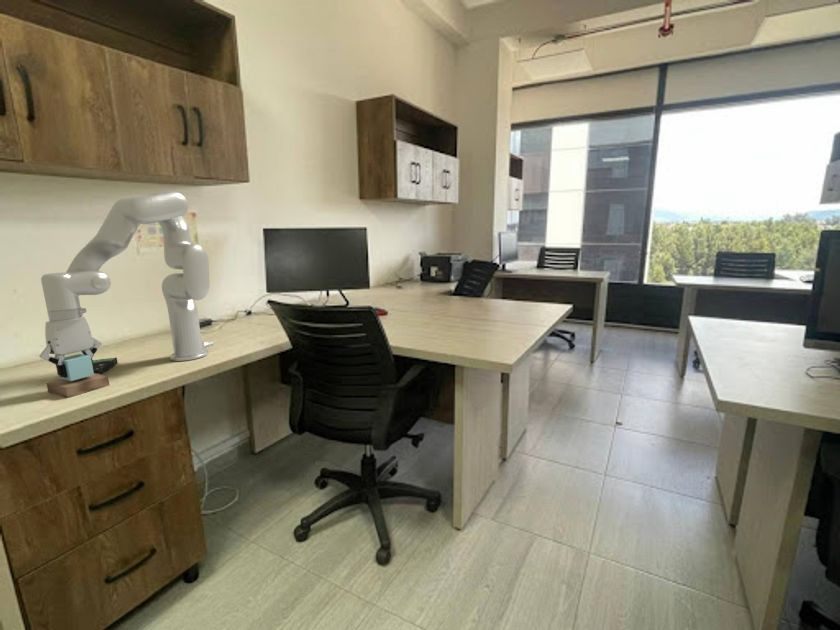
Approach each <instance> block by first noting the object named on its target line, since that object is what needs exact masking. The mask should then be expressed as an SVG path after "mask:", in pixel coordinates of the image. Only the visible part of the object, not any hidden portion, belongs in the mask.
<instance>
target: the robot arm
mask: <svg viewBox="0 0 840 630" xmlns="http://www.w3.org/2000/svg"><path fill="white" fill-rule="evenodd" d="M188 210H189V201H188V199H187V198H186V196H185V195H184V194H182V193H181V192H178V191H174V190H173V191H160V192H159V191H158V192H153V193H149V194H146V195H145V196H143V195H142V196H136V197H135V196H133V197H124V198H120V199H118V200H117V201H115V203H114V204H113V205H112V207H111V209H110V210H109V212H108V214H107V216H106V217H105V219H104V221H103V222H102V224H101V226H100V227H99V229H98V231H97V232H96V234H95V236H94V237H93V238H91V239H90V241H89V242H88V243H87V244H86V245H84V247H82V249H80V250H79V252H78V253H77V254H76V255H75V256H74V258H73V260H72V261H71V263H70V264H69V266H68V268H67V269H66V272H52V273H46V274H43V275H41V277H40V280H41V281H40V283H41V287H42V292H43V297H44V300H45V301H44V302H45V307H46V311H47V317H48V321H46V322H45V327H44V328H45V329H44V331H45V332H44V333H45V334H44V335H45V345H46V346H45V348H44V349H43V350H42V352H41V353H40V354H39V358H41V359H43V360H45V361H48V362H50V363H52V364H54V365H55V366H56V367H55V368H56V371H57V375H58V376H59V378H60V377H64V378H66V377H67V372H66V367H65V364H63V361H64V357H66V355H70V354H75V353H78V352H81V354H83V355H88V356H91V361H92V366H93V360H94V359H93V358H94V356H95V353H96V352H97V351H98V349H99V348H100V347H101V346H102V344H103V343H102V342H101V341H100V340H97V339H95V338H94V337H93V335H92V332H91V331H92V330H91V328H90V325H89V323H88V321H87V318H86V317H84V313H87V308H85V307H84V308H82V307H81V302H80V298H79V296H96V295H101V294H104V293H105V292H107V291H108V290H109V289H110V288H111V285H112V284H111V283H112V282H111V278H110V277H109V276H108V275H107V274H106V273H104V272H102V271H100V269H101V268H102V267H103V266H104V264H105V263H107V262H108V261H110V260H111V259H112V258H114V257H117V256H118V255H120V254H121V253H123V252H124V251H126V250H127V249H128V247H129V245H130V243H131V242H132V239H133V238H134V235H135V234H136V231H138V230H137V229H139V226H140V225H148V224H154V223H159V226H160V227H161V229H162V236H163V255H164V262H165V264H166V266H168V267H169V268H170V269H174V270H178V271H179V270H181V271H182V272H183V273H180V272H178V273H177V272H175V273H171V274H168V275H167V276H166V277H164V279H163V280H162V283H161V291H162V294H163V297H164V300H165V303H166V308H167V313H168V318H169V319H168V320H169V327H170V334H171V341H172V346H173V347H172V348H173V353H171V354H170V355H169V359H170V360H171V361H174V362H184V361H193V360H197V359H200V358H204V357H205V356H208V350H207V348H209V347H213V346H214V341H212V340H211V341H207V342H206V341H202V336H201V329H200V328H201V327H200V320H199V319H200V318H199V310H198V307H197V304H196V302H195V301H200V300H202V299H204V298H206V296H207V295H208V293H209V290H210V261H209V256H208V254H207V251H206V249H205V248H204V247H203V246H201V245H200V244H199V243H194V242H192V240H191V232H190V231H191V230H190V227H189V224H188V222H187V220H186V219H185V217H184V215H186V213H187V212H188ZM51 355H54V357H53V356H51Z"/></svg>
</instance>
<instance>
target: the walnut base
mask: <svg viewBox="0 0 840 630" xmlns="http://www.w3.org/2000/svg"><path fill="white" fill-rule="evenodd" d="M108 386H110V378H109V375H105V374H102V375H101V374H97V373H94V375H91V376H88V377H84V378H81V379H77V380H73V381H69V380H65V379H61V378H60V379H56V380H55V379H54V380H52V381H48V382H46V388H47V392H48V393H49V394H51V395H52V394H53V395H56V396H60V397H63V398H65V399H69V398H72V397H76V396H79V395H82V394H86V393H88V392H92V391H96V390H98V389H102V388H105V387H108Z"/></svg>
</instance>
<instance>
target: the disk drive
mask: <svg viewBox="0 0 840 630" xmlns="http://www.w3.org/2000/svg"><path fill="white" fill-rule="evenodd" d="M92 360H93V371H94V373H97V374H101V375H105V373H106V372H108V371H110V369H112V368H113V367H115V366H117V365H118V364H119V363H118V362H119V361H118V357H110V358H109V357H108V358H100V359H92Z"/></svg>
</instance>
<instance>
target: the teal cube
mask: <svg viewBox="0 0 840 630" xmlns="http://www.w3.org/2000/svg"><path fill="white" fill-rule="evenodd" d="M63 364H65V367H66V372H67V377H66V378H64V377H60V376H59V378H60V379H65V380H69V381H73V380H77V379H81V378H84V377H88V376H91V375H94V371H93V366H92V361H91V356H88V355H84V354H83V353H78V354H73V355H68V356H65V357H64V361H63Z"/></svg>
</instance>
